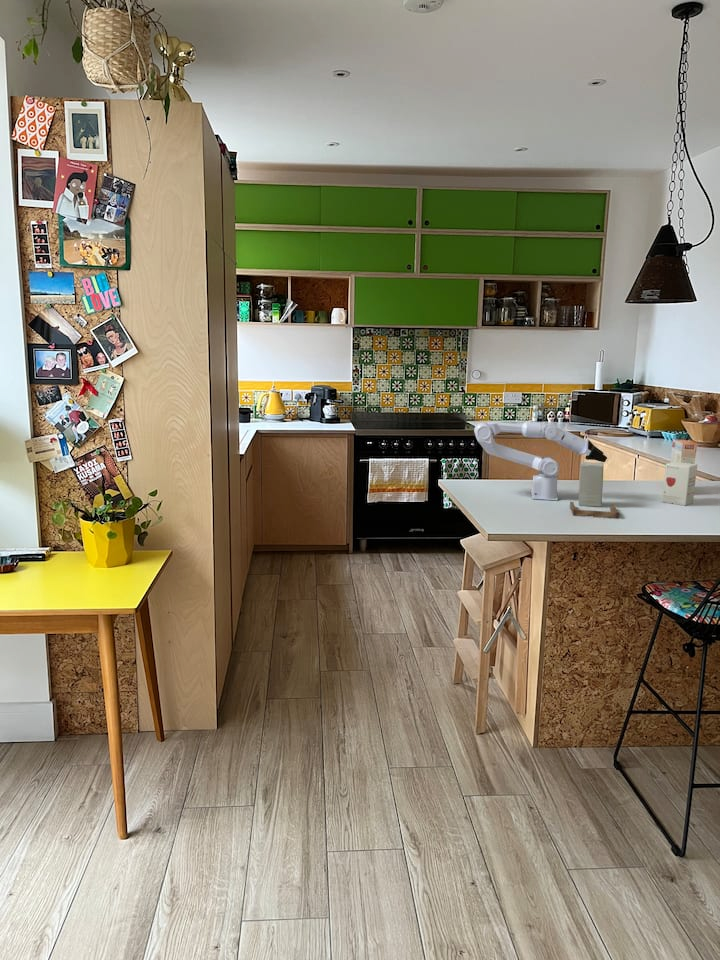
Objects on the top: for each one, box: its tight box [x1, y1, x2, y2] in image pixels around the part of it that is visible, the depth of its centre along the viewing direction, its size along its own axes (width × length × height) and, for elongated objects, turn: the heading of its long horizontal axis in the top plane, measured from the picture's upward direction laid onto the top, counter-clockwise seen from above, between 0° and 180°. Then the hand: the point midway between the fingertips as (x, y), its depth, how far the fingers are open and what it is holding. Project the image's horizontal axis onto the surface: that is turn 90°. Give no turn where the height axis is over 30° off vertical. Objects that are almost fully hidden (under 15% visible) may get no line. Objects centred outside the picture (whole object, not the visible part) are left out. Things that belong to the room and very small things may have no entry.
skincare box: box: [578, 461, 605, 508], centre depth 262 cm, size 8×7×16 cm
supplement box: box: [661, 461, 698, 506], centre depth 270 cm, size 9×9×15 cm
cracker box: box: [670, 438, 698, 464], centre depth 291 cm, size 14×6×21 cm, turn 171°
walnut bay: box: [569, 501, 620, 519], centre depth 251 cm, size 15×14×2 cm
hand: (604, 457), depth 269 cm, fingers open, 7 cm apart
